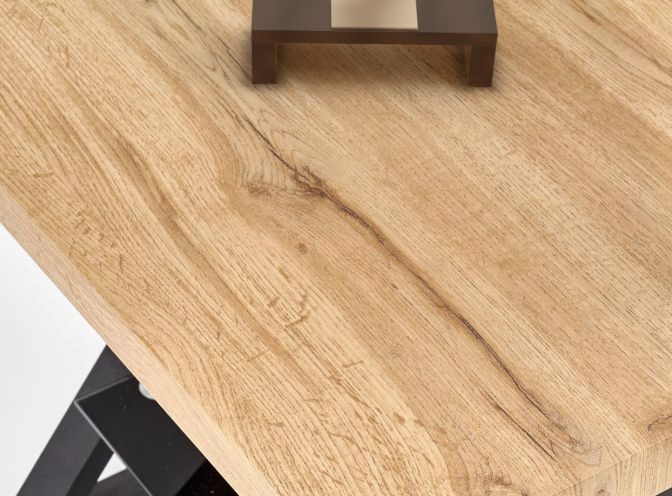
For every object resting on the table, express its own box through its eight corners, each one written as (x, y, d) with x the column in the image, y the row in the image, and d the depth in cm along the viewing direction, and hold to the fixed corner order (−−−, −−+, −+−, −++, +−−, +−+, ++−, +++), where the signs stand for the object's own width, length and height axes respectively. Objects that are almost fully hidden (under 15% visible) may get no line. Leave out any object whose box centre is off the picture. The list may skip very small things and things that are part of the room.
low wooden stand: (485, 37, 136) (491, -19, 132) (491, 87, 131) (498, 30, 127) (254, 33, 136) (253, -22, 132) (251, 83, 131) (250, 27, 127)
